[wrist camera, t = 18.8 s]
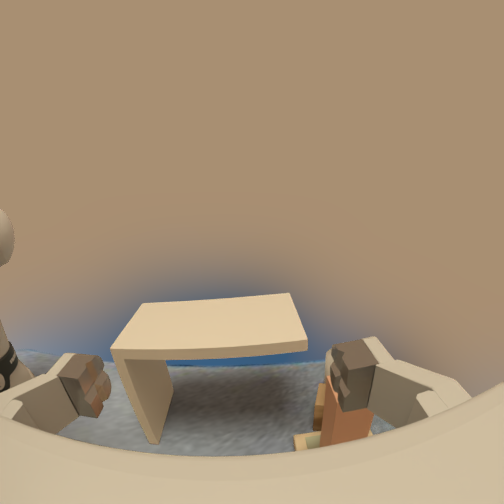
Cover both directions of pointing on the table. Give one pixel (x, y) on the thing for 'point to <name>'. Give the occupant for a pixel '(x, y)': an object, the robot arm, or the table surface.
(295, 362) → the table surface
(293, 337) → the folded cream panel
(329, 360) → the cream cylinder
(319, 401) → the oak block
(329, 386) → the pillar
